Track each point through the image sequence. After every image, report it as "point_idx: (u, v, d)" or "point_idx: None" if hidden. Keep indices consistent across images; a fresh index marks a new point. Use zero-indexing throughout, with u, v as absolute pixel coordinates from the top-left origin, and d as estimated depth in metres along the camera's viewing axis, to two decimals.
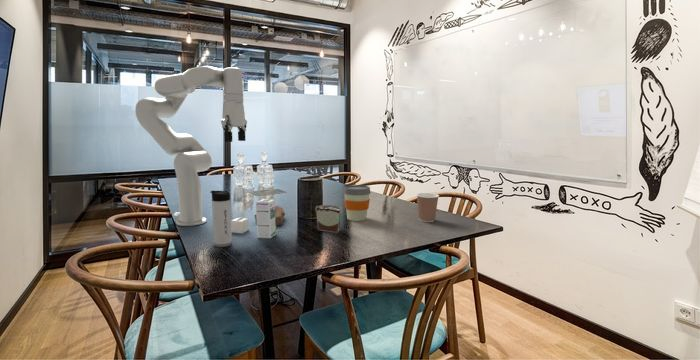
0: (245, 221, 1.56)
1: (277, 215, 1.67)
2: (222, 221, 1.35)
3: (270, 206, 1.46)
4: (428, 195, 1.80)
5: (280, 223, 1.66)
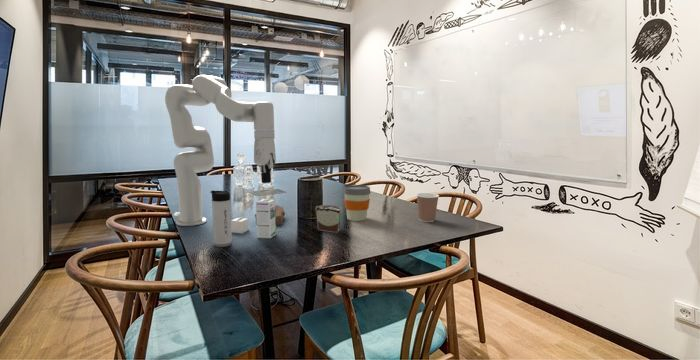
0: (245, 221, 1.56)
1: (277, 214, 1.68)
2: (222, 221, 1.35)
3: (270, 206, 1.46)
4: (428, 195, 1.80)
5: (280, 222, 1.67)
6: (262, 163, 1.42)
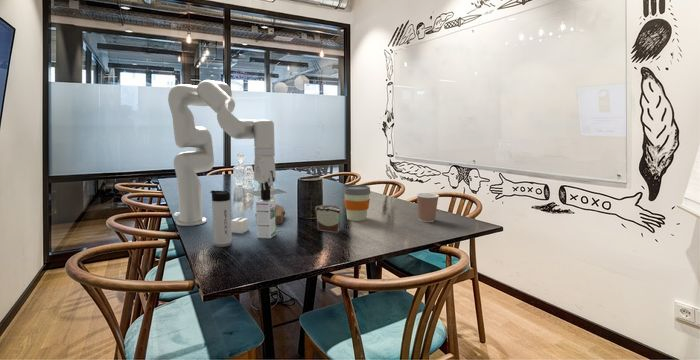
0: (245, 221, 1.56)
1: (277, 214, 1.69)
2: (222, 221, 1.35)
3: (270, 206, 1.46)
4: (428, 195, 1.80)
5: (280, 222, 1.68)
6: (262, 181, 1.43)
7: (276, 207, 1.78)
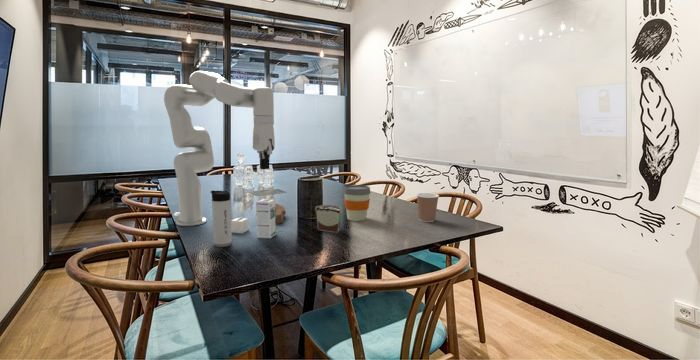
0: (245, 221, 1.56)
1: (278, 213, 1.70)
2: (222, 221, 1.35)
3: (270, 206, 1.46)
4: (428, 195, 1.80)
5: (280, 221, 1.69)
6: (261, 149, 1.41)
7: (276, 206, 1.79)
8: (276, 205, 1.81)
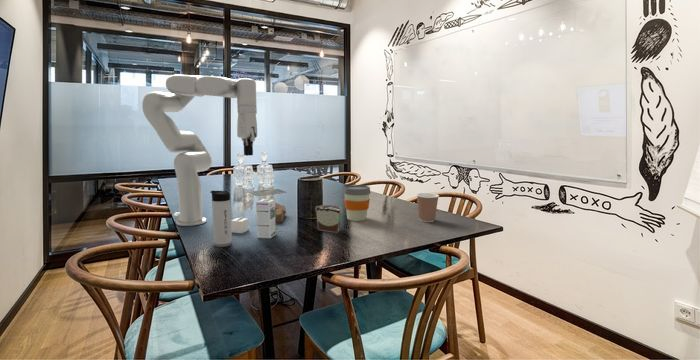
0: (245, 221, 1.56)
1: (278, 213, 1.71)
2: (222, 221, 1.35)
3: (270, 206, 1.46)
4: (428, 195, 1.80)
5: (281, 221, 1.70)
6: (244, 136, 1.51)
7: (277, 206, 1.80)
8: (276, 205, 1.82)
